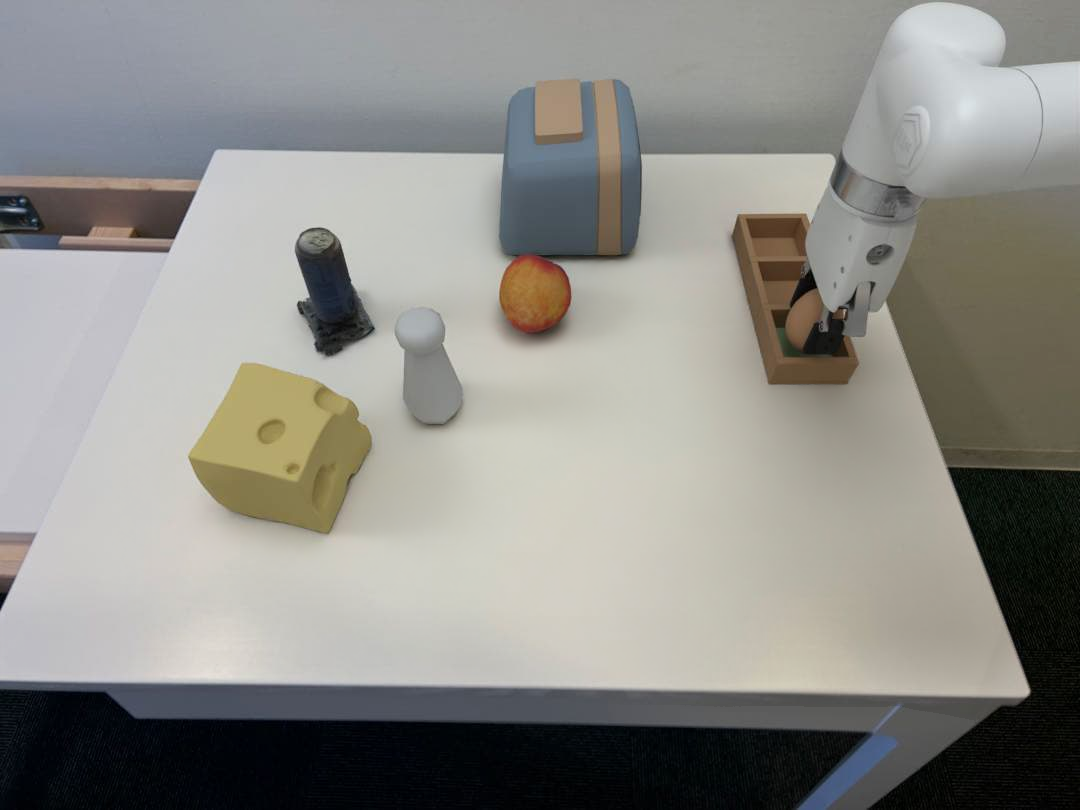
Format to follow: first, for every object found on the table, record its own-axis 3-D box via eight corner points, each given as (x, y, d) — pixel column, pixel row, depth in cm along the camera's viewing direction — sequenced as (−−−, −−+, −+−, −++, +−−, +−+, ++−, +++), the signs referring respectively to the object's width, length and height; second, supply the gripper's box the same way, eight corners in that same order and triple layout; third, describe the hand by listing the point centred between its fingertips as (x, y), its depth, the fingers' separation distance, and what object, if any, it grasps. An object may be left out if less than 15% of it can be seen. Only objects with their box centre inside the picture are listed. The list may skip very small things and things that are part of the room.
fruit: (585, 312, 78) (589, 258, 71) (541, 357, 74) (541, 305, 67) (529, 282, 80) (528, 228, 74) (484, 324, 77) (479, 271, 70)
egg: (816, 325, 75) (842, 270, 68) (836, 362, 72) (865, 308, 65) (770, 331, 74) (792, 276, 68) (788, 368, 71) (812, 315, 65)
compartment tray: (847, 383, 72) (859, 363, 69) (768, 384, 72) (777, 363, 69) (797, 235, 85) (806, 213, 82) (731, 236, 85) (737, 213, 82)
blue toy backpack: (637, 263, 82) (655, 143, 69) (499, 263, 82) (491, 143, 69) (627, 176, 92) (641, 57, 79) (503, 176, 92) (497, 57, 79)
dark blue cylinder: (387, 328, 76) (365, 243, 67) (324, 362, 74) (291, 279, 64) (346, 282, 80) (319, 196, 71) (285, 312, 78) (248, 227, 68)
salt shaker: (398, 425, 69) (372, 338, 58) (418, 380, 72) (397, 290, 61) (455, 437, 68) (439, 351, 57) (472, 391, 71) (460, 302, 61)
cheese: (375, 443, 68) (352, 380, 59) (328, 543, 62) (296, 488, 53) (277, 421, 69) (241, 357, 61) (222, 516, 63) (175, 459, 55)
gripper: (967, 249, 51) (872, 397, 66) (895, 116, 61) (827, 270, 76) (865, 250, 51) (792, 397, 66) (810, 117, 61) (758, 271, 76)
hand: (811, 328), depth 71 cm, fingers closed on egg, 5 cm apart
